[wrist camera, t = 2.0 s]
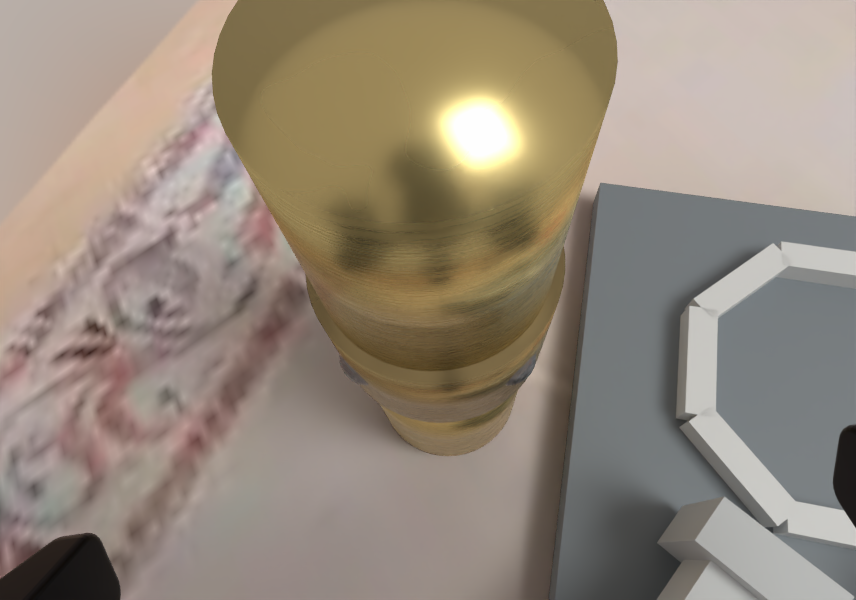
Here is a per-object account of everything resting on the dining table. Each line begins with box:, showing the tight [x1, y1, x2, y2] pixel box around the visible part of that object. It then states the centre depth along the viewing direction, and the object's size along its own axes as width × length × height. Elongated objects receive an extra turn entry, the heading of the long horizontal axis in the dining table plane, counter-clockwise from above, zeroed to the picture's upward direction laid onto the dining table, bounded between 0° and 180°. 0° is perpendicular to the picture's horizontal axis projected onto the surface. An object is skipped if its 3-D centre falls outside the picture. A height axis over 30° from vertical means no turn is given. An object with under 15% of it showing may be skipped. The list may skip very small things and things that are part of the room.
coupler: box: [212, 0, 618, 456], centre depth 13 cm, size 5×5×14 cm
